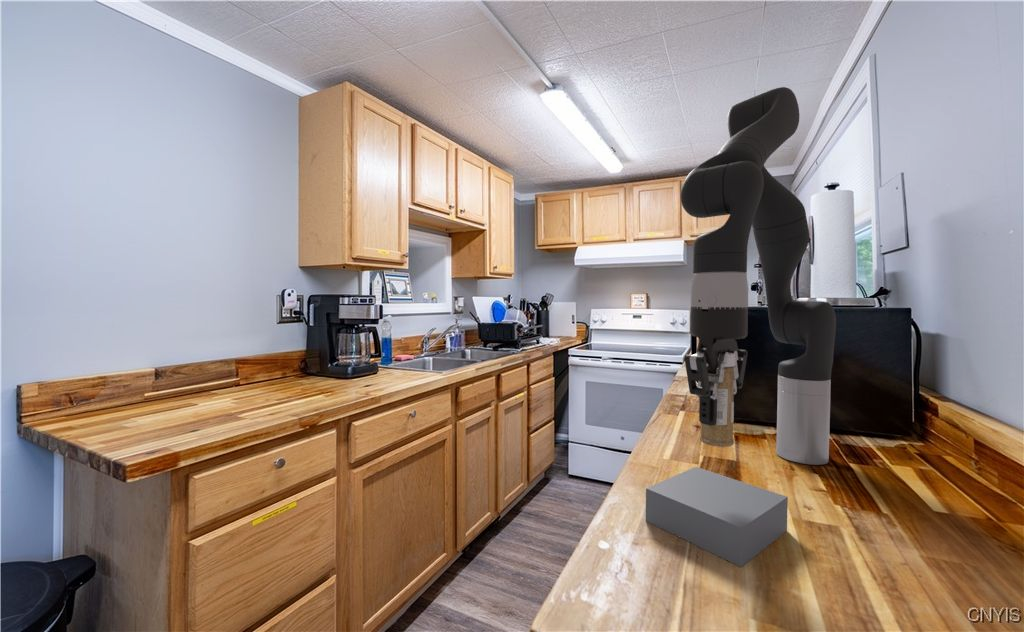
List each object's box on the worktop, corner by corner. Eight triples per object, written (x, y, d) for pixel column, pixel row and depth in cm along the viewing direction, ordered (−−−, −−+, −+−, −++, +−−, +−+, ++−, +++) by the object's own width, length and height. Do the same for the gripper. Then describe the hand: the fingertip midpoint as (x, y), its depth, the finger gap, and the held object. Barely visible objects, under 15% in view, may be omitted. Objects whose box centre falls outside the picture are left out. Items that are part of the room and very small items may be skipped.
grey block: (695, 495, 73) (695, 466, 72) (786, 530, 61) (787, 496, 61) (645, 520, 64) (645, 488, 64) (741, 567, 53) (741, 527, 53)
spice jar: (739, 444, 62) (741, 352, 61) (722, 450, 59) (724, 354, 59) (710, 436, 66) (712, 349, 65) (692, 441, 63) (694, 351, 63)
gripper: (718, 304, 69) (716, 408, 70) (667, 304, 61) (665, 423, 61) (767, 304, 63) (765, 419, 64) (719, 305, 55) (716, 437, 55)
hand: (716, 420), depth 62 cm, fingers closed on spice jar, 4 cm apart
